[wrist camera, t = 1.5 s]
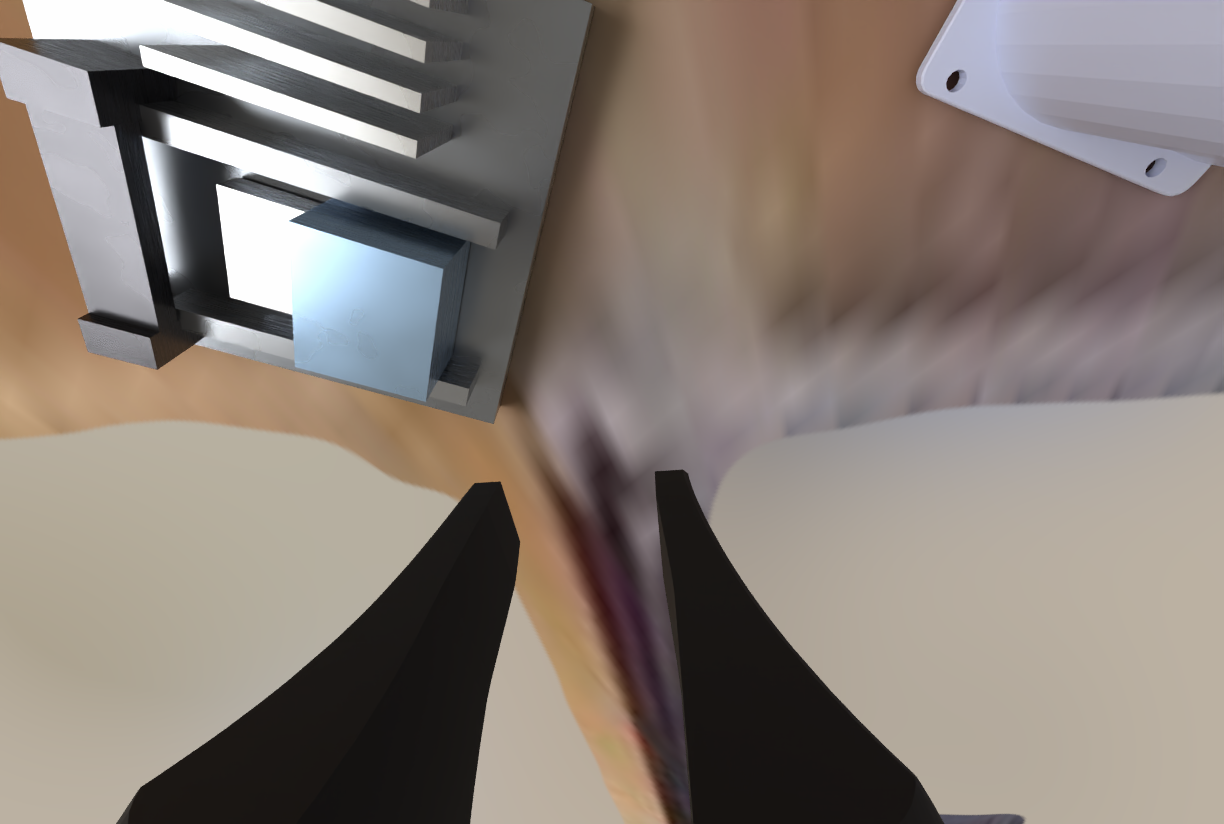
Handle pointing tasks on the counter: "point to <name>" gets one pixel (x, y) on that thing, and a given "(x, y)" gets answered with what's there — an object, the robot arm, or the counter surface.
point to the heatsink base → (295, 152)
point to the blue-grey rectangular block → (347, 284)
